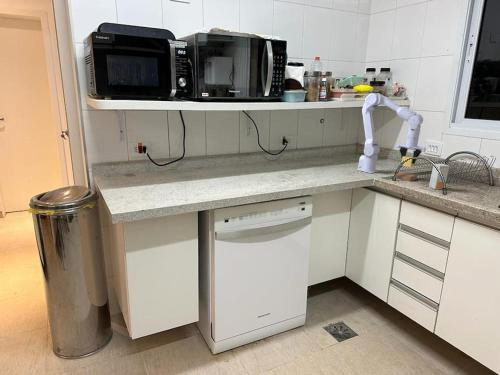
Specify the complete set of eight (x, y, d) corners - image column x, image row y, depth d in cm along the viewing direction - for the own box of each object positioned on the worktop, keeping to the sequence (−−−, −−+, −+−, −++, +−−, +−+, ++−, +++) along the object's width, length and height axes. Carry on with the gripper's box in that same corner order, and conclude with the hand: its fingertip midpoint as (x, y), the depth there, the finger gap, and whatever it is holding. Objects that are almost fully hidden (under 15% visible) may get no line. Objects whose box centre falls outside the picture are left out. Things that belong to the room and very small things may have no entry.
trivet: (393, 177, 190) (394, 173, 190) (400, 175, 197) (401, 171, 196) (410, 181, 184) (411, 176, 184) (416, 179, 190) (417, 174, 190)
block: (400, 165, 188) (402, 156, 187) (404, 164, 192) (406, 155, 190) (410, 167, 185) (411, 158, 184) (414, 166, 188) (415, 157, 187)
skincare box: (434, 189, 171) (439, 165, 167) (428, 187, 174) (433, 163, 171) (444, 189, 172) (450, 165, 169) (438, 186, 176) (443, 163, 173)
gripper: (396, 136, 187) (391, 160, 190) (423, 139, 177) (418, 166, 180) (401, 135, 191) (397, 159, 195) (429, 139, 181) (424, 164, 185)
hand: (408, 162), depth 188 cm, fingers closed on block, 5 cm apart
